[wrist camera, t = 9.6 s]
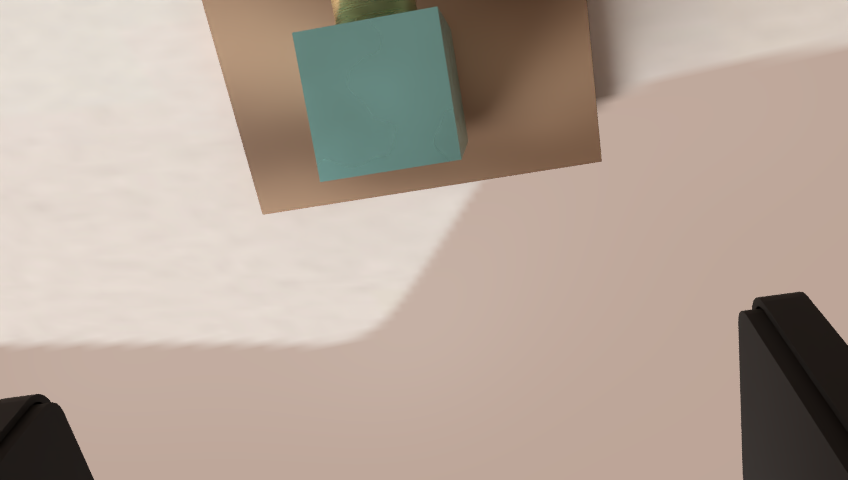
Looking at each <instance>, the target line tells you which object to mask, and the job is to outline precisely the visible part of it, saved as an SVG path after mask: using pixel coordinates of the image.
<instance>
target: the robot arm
mask: <svg viewBox="0 0 848 480" xmlns="http://www.w3.org/2000/svg"><path fill="white" fill-rule="evenodd" d="M738 325H739V355H740V356H739V360H740V394H741V429H742V460H743V461H742V463H743V480H848V345H847V344H846V343H845V342H844V340H843V339H842V338H841V337H840V336H839V334H838V333H837V332H836V331H835V329H834V328H833V327H832V326H831V324H830V323H829V322H828V321H827V319H826V318H825V317H824V316H823V315H822V313H821V312H820V311H819V310H818V308H817V307H816V306H815V305H814V304H813V303H812V301H811V300H810V299H809V297H808V296H807V295H806V294H805V293H803V292H795V293H787V294H781V295H772V296H766V297H758V298H755V300H754V301H753V305H752V310H745V311H741V312H740V313H739V321H738ZM0 480H94V479H93V477H92V474H91V472H90V470H89V468H88V465H87V463H86V461H85V459H84V456H83V454H82V452H81V450H80V447H79V445H78V443H77V441H76V439H75V436H74V434H73V432H72V430H71V427H70V425H69V423H68V421H67V419H66V416H65V414H64V412H63V410H62V409H61V407H60V406H59V405H58V404H57V403H53V402H52V403H51V402H50V400H49V399H48V398H47V397H45V396H44V395H41V394H35V395H27V396H20V397H13V398H5V399H1V400H0Z"/></svg>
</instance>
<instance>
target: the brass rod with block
mask: <svg viewBox="0 0 848 480" xmlns="http://www.w3.org/2000/svg"><path fill="white" fill-rule="evenodd" d="M331 3H332V8H333V14H334V19H335V25H332V26H326V27H321V28H315V29H310V30H304V31H299V32H293V33H292V36H293V41H294V47H295V52H296V57H297V62H298V68H299V73H300V78H301V84H302V89H303V94H304V100H305V105H306V110H307V115H308V121H309V126H310V131H311V137H312V142H313V147H314V152H315V158H316V163H317V168H318V174H319V179H320V182H324V181H331V180H337V179H343V178H349V177H356V176H362V175H368V174H374V173H381V172H387V171H393V170H400V169H406V168H412V167H418V166H425V165H431V164H437V163H443V162H450V161H456V160H462V157H463V154H464V151H465V149H466V146H467V143H468V136H467V129H466V123H465V117H464V110H463V104H462V97H461V91H460V84H459V78H458V72H457V65H456V59H455V52H454V46H453V39H452V33H451V29H450V27H449V25H448V23H447V22H446V20H445V18H444V17H443V15H442V13H441V12H440V10H439V8H438V7H431V8H426V9H420V10H417V6H416V0H331Z"/></svg>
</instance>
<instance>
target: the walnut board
mask: <svg viewBox="0 0 848 480" xmlns="http://www.w3.org/2000/svg"><path fill="white" fill-rule="evenodd" d="M202 2H203V6H204V9H205V13H206V16H207V20H208V24H209V27H210V31H211V34H212V38H213V41H214V45H215V48H216V52H217V55H218V59H219V62H220V66H221V69H222V73H223V76H224V80H225V83H226V87H227V90H228V94H229V97H230V101H231V104H232V108H233V111H234V115H235V119H236V122H237V126H238V129H239V133H240V136H241V140H242V143H243V147H244V150H245V154H246V157H247V161H248V164H249V168H250V171H251V175H252V178H253V182H254V185H255V189H256V192H257V196H258V199H259V203H260V206H261V210H262V214H270V213H276V212H282V211H289V210H295V209H302V208H308V207H314V206H321V205H327V204H333V203H340V202H346V201H353V200H359V199H365V198H372V197H378V196H384V195H391V194H397V193H404V192H410V191H416V190H423V189H429V188H435V187H442V186H448V185H455V184H461V183H467V182H474V181H480V180H486V179H493V178H499V177H506V176H512V175H518V174H524V173H531V172H537V171H544V170H550V169H557V168H563V167H569V166H576V165H582V164H589V163H595V162H601V161H602V159H601V149H600V138H599V128H598V117H597V106H596V95H595V85H594V74H593V63H592V53H591V42H590V32H589V21H588V10H587V0H416V6H417V10H420V9H426V8H431V7H438V8H439V10H440V12H441V13H442V15H443V17H444V18H445V20H446V22H447V23H448V25H449V27H450V29H451V33H452V39H453V46H454V52H455V59H456V65H457V72H458V78H459V84H460V91H461V97H462V104H463V110H464V117H465V123H466V129H467V136H468V143H467V146H466V149H465V151H464V154H463V157H462V160H456V161H450V162H443V163H437V164H431V165H425V166H418V167H412V168H406V169H400V170H393V171H387V172H381V173H374V174H368V175H362V176H356V177H349V178H343V179H337V180H331V181H324V182H320V179H319V174H318V168H317V163H316V158H315V152H314V147H313V142H312V137H311V131H310V126H309V121H308V115H307V110H306V105H305V100H304V94H303V89H302V84H301V78H300V73H299V68H298V62H297V57H296V52H295V47H294V41H293V36H292V33H293V32H299V31H304V30H310V29H315V28H321V27H326V26H332V25H335V19H334V14H333V8H332V3H331V0H202Z"/></svg>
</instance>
